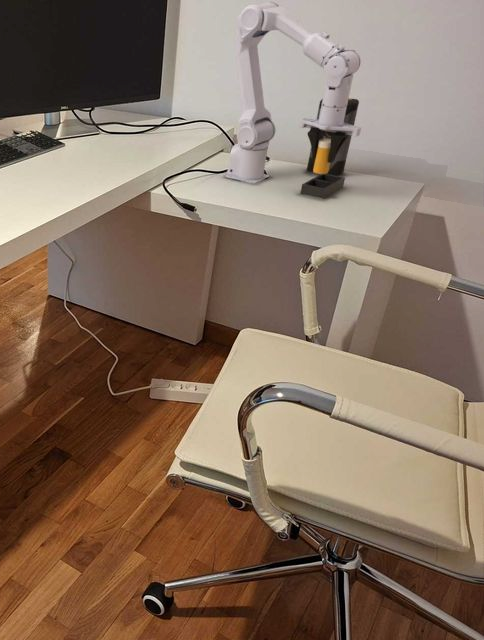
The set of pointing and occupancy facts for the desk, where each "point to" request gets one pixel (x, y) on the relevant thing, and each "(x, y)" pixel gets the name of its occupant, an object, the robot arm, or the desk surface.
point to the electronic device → (340, 159)
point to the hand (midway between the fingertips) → (322, 160)
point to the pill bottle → (322, 157)
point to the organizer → (322, 185)
